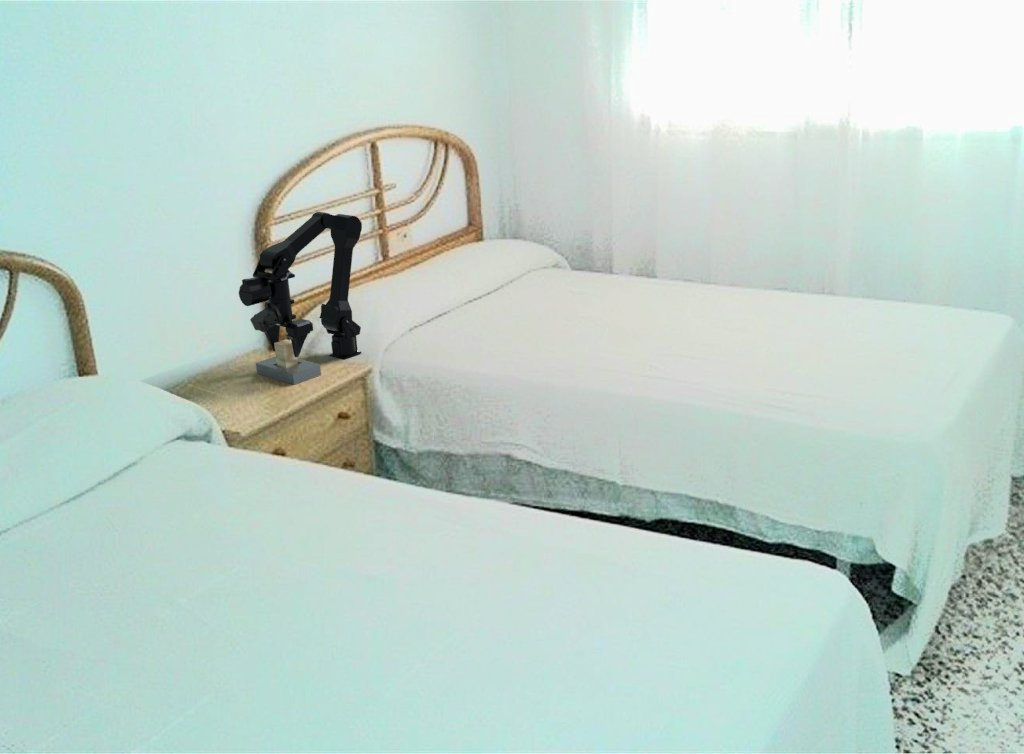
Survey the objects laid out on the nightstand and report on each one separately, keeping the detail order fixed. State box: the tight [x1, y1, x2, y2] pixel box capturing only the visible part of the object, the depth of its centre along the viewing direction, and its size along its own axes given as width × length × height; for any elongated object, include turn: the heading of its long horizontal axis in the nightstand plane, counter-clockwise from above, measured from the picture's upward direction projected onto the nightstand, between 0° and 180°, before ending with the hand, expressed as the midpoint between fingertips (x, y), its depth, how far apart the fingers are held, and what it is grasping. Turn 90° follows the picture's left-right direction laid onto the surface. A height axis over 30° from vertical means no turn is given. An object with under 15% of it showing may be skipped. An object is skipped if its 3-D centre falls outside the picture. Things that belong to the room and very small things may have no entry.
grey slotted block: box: [255, 355, 322, 385], centre depth 278 cm, size 9×16×3 cm, turn 49°
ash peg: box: [274, 339, 298, 368], centre depth 277 cm, size 4×4×9 cm
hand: (286, 353), depth 276 cm, fingers open, 9 cm apart
